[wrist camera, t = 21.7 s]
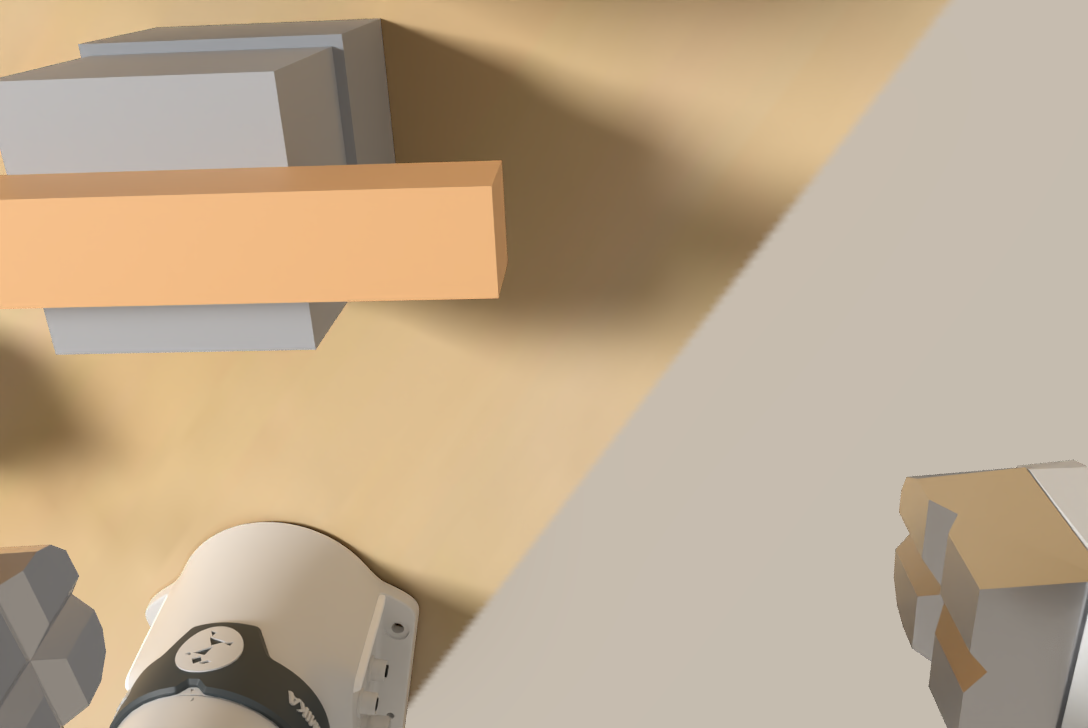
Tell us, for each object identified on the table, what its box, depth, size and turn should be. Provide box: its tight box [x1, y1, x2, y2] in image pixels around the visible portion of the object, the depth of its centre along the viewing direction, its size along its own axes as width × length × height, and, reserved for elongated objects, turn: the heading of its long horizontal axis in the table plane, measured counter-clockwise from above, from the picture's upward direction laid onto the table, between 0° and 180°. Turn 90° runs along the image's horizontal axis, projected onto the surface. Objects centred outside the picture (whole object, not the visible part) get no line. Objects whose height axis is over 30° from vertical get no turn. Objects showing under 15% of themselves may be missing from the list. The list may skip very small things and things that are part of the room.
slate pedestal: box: [0, 19, 396, 355], centre depth 45 cm, size 12×12×17 cm
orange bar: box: [0, 160, 508, 309], centre depth 35 cm, size 4×24×4 cm, turn 92°
